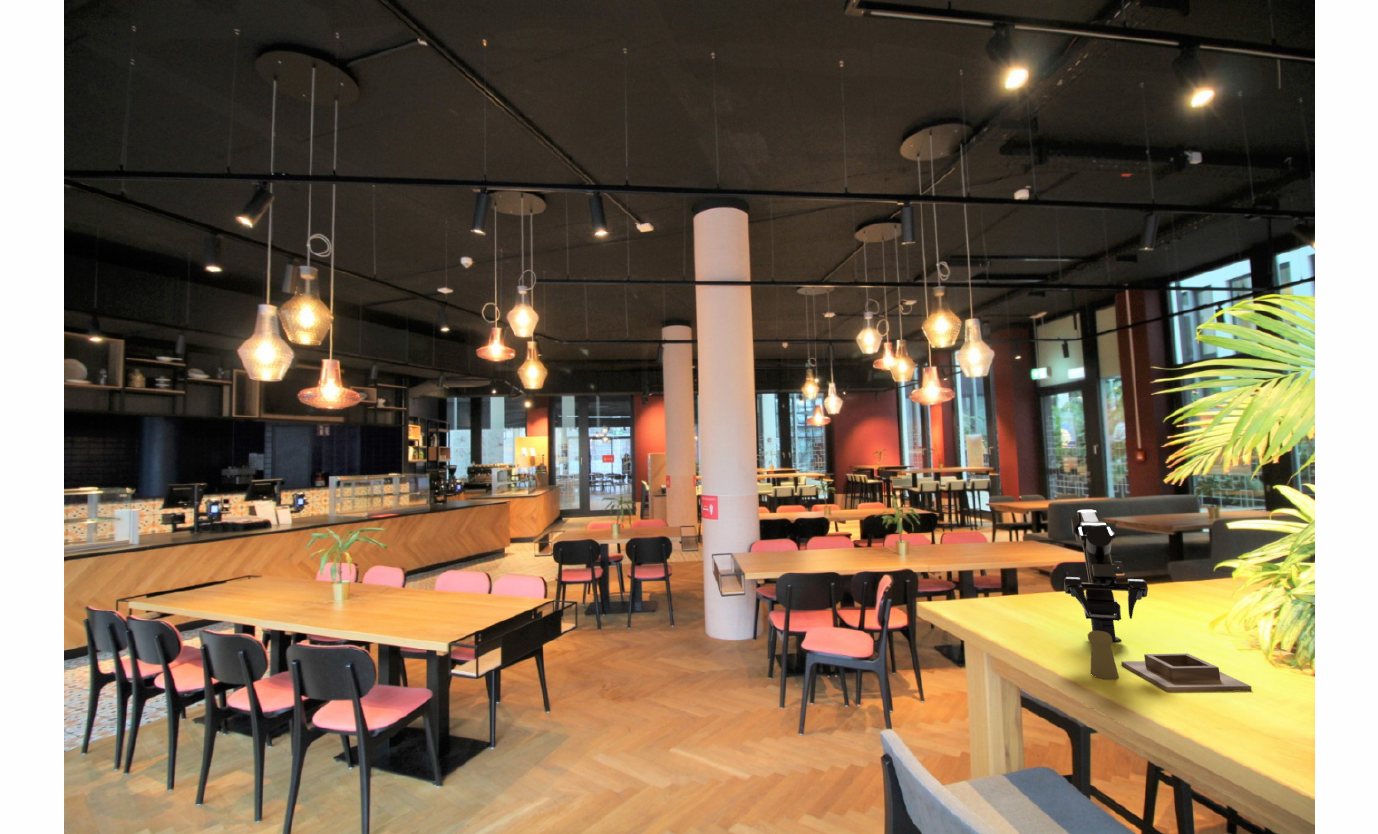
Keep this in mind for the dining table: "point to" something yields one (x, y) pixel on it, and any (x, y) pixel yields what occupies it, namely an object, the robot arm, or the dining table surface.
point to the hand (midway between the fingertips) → (1109, 616)
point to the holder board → (1183, 673)
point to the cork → (1102, 656)
